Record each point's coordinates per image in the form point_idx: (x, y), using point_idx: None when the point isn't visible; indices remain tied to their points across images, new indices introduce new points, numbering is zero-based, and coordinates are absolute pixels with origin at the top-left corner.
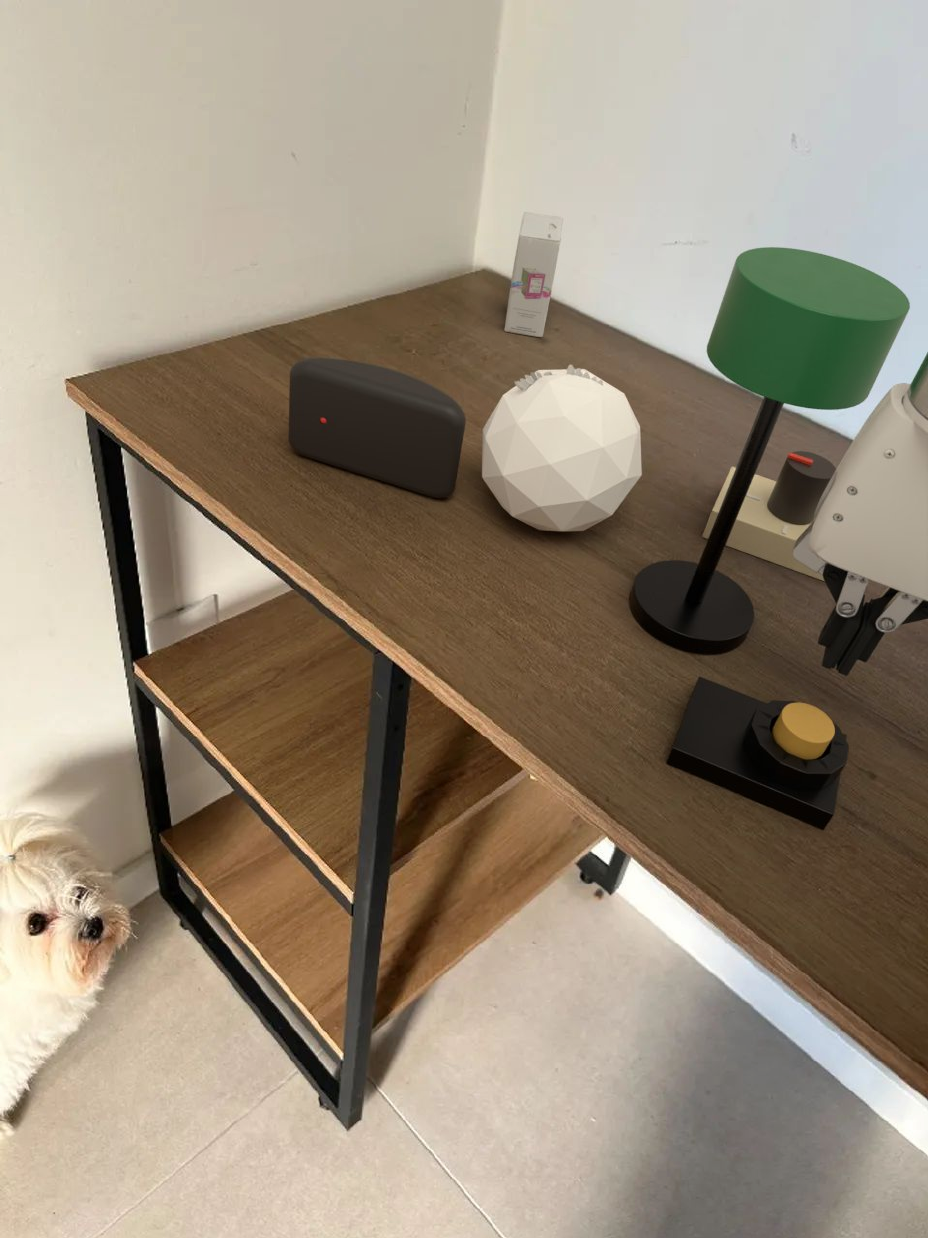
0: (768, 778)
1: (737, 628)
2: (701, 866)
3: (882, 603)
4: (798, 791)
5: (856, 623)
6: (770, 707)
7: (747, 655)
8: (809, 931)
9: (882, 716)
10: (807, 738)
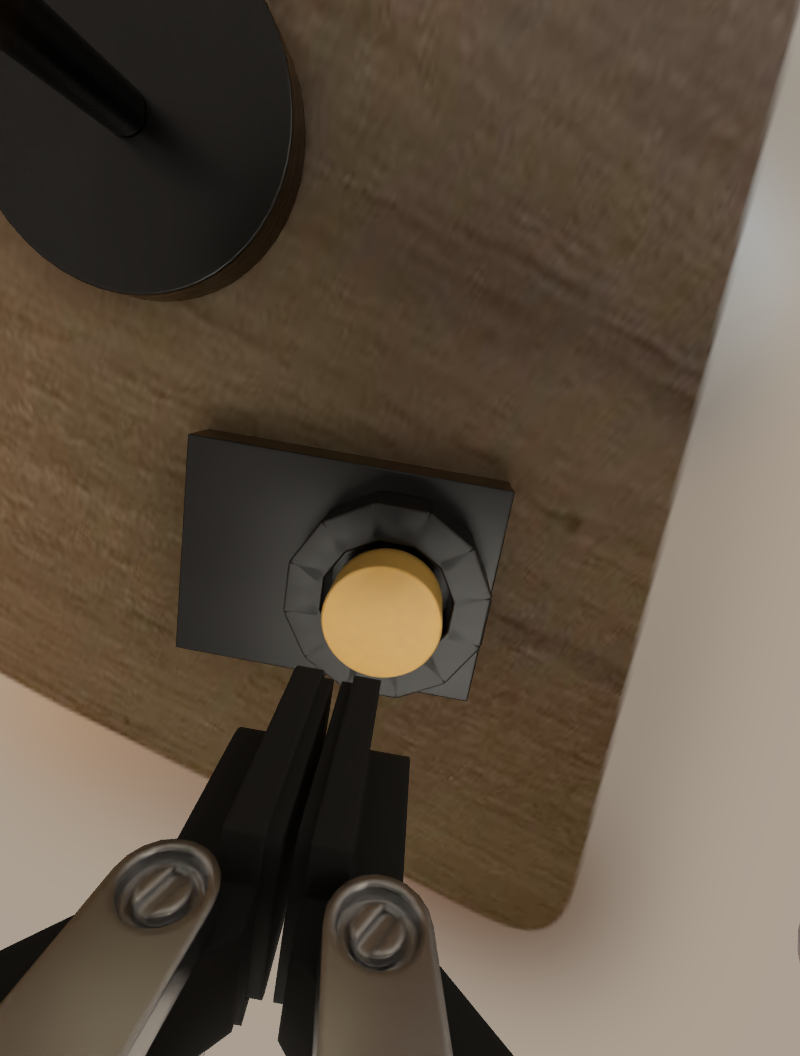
0: None
1: (252, 197)
2: None
3: (309, 1038)
4: None
5: (240, 1015)
6: (318, 546)
7: (312, 244)
8: (433, 840)
9: (630, 330)
10: (378, 672)
